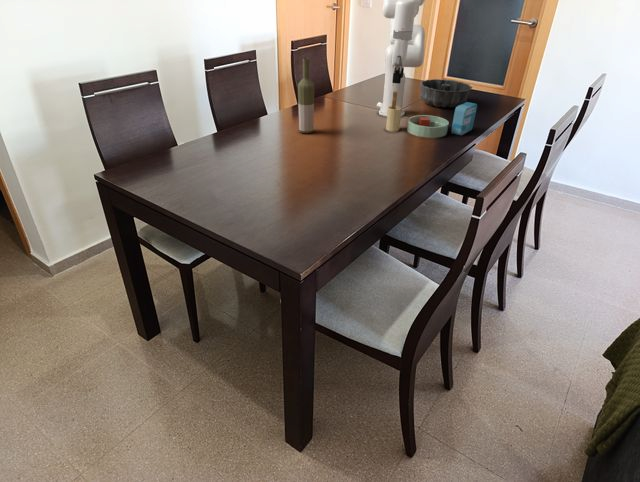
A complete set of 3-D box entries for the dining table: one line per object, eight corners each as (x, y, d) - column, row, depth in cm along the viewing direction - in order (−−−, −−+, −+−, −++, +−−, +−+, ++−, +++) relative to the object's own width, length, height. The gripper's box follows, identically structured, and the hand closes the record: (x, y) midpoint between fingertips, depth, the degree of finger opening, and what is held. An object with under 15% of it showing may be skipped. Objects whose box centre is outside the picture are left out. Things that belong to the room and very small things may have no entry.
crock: (383, 130, 190) (385, 107, 185) (390, 127, 193) (393, 105, 188) (393, 133, 187) (396, 110, 181) (401, 130, 190) (404, 107, 185)
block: (420, 128, 191) (421, 119, 189) (418, 126, 194) (419, 117, 192) (428, 128, 191) (430, 119, 189) (426, 126, 194) (428, 117, 192)
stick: (389, 129, 189) (393, 92, 181) (389, 128, 191) (393, 91, 182) (393, 129, 189) (397, 92, 180) (393, 128, 190) (397, 91, 182)
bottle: (317, 131, 187) (318, 58, 171) (306, 135, 183) (305, 60, 166) (306, 128, 191) (305, 56, 175) (294, 131, 187) (293, 58, 170)
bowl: (399, 132, 188) (400, 120, 186) (420, 123, 199) (422, 112, 196) (433, 141, 178) (435, 130, 176) (454, 132, 189) (456, 121, 186)
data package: (460, 137, 184) (465, 108, 177) (450, 134, 186) (455, 106, 180) (472, 130, 191) (477, 103, 185) (462, 128, 194) (468, 101, 187)
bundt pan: (474, 102, 231) (478, 83, 226) (459, 114, 212) (463, 93, 207) (427, 95, 243) (430, 76, 237) (409, 105, 224) (412, 85, 219)
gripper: (395, 31, 177) (391, 75, 187) (390, 38, 163) (385, 84, 173) (413, 32, 175) (408, 76, 185) (410, 39, 162) (404, 86, 171)
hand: (397, 80), depth 179 cm, fingers open, 9 cm apart
